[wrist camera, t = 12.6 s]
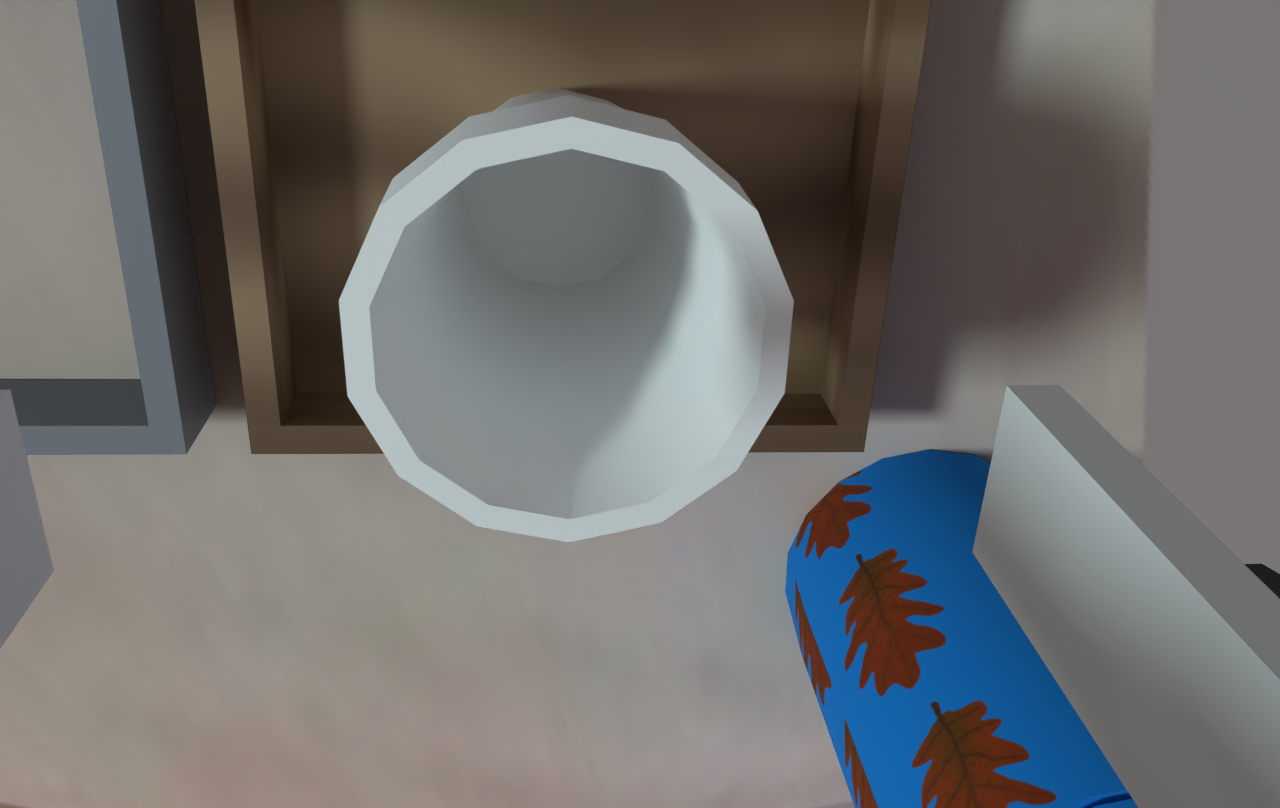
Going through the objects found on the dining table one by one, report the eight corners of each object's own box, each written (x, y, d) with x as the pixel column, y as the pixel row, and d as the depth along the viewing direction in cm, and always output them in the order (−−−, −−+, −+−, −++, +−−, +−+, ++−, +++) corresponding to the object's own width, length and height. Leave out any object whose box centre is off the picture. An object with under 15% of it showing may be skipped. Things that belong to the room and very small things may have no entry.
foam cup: (747, 260, 36) (850, 442, 24) (495, 373, 37) (477, 600, 25) (630, -21, 32) (686, 33, 20) (351, 114, 33) (248, 241, 21)
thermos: (1095, 570, 44) (1687, 1291, 21) (881, 715, 46) (1211, 1501, 24) (952, 391, 40) (1499, 1049, 17) (725, 560, 42) (945, 1335, 20)
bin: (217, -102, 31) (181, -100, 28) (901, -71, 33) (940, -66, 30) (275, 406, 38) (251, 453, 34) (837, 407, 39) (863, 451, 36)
